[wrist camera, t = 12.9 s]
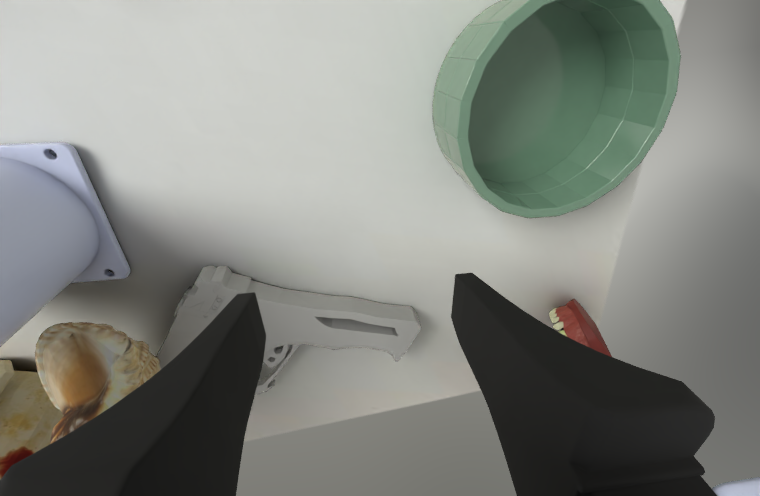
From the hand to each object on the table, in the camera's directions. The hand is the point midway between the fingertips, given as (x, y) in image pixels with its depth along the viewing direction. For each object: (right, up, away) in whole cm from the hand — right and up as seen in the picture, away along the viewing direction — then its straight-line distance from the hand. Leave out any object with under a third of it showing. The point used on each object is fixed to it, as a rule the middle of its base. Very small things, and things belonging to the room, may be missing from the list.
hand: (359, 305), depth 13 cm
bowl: (+8, +10, +6) cm, 15 cm away
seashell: (-16, -6, +5) cm, 17 cm away
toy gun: (-4, -14, +17) cm, 23 cm away
